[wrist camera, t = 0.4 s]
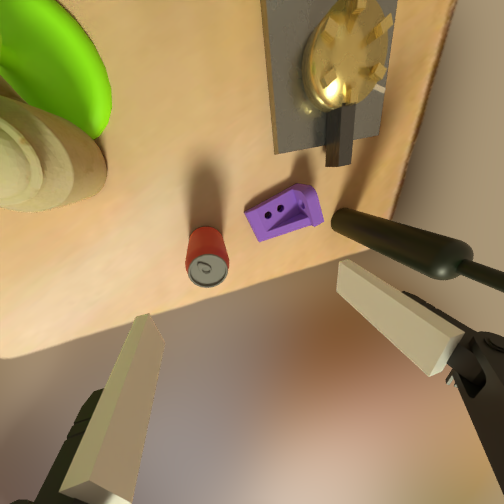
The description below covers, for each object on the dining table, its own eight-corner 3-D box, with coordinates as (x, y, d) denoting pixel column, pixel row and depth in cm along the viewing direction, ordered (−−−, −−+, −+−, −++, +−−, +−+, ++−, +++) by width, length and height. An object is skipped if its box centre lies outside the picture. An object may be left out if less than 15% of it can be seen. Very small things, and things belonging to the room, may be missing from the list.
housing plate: (258, -20, 23) (263, -37, 21) (389, -25, 26) (404, -40, 24) (274, 154, 32) (279, 153, 30) (369, 136, 35) (379, 135, 33)
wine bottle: (354, 224, 43) (588, 313, 17) (333, 236, 43) (536, 343, 17) (350, 203, 41) (623, 270, 14) (328, 215, 40) (562, 305, 14)
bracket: (296, 183, 36) (315, 186, 30) (305, 213, 39) (324, 221, 33) (243, 211, 36) (252, 220, 30) (257, 239, 39) (267, 252, 33)
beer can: (205, 218, 34) (206, 241, 24) (229, 240, 37) (240, 269, 27) (181, 242, 35) (173, 274, 24) (207, 261, 38) (210, 298, 27)
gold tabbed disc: (300, 16, 24) (320, -14, 20) (371, 11, 25) (403, -18, 21) (304, 171, 33) (318, 171, 29) (356, 160, 34) (377, 159, 30)
